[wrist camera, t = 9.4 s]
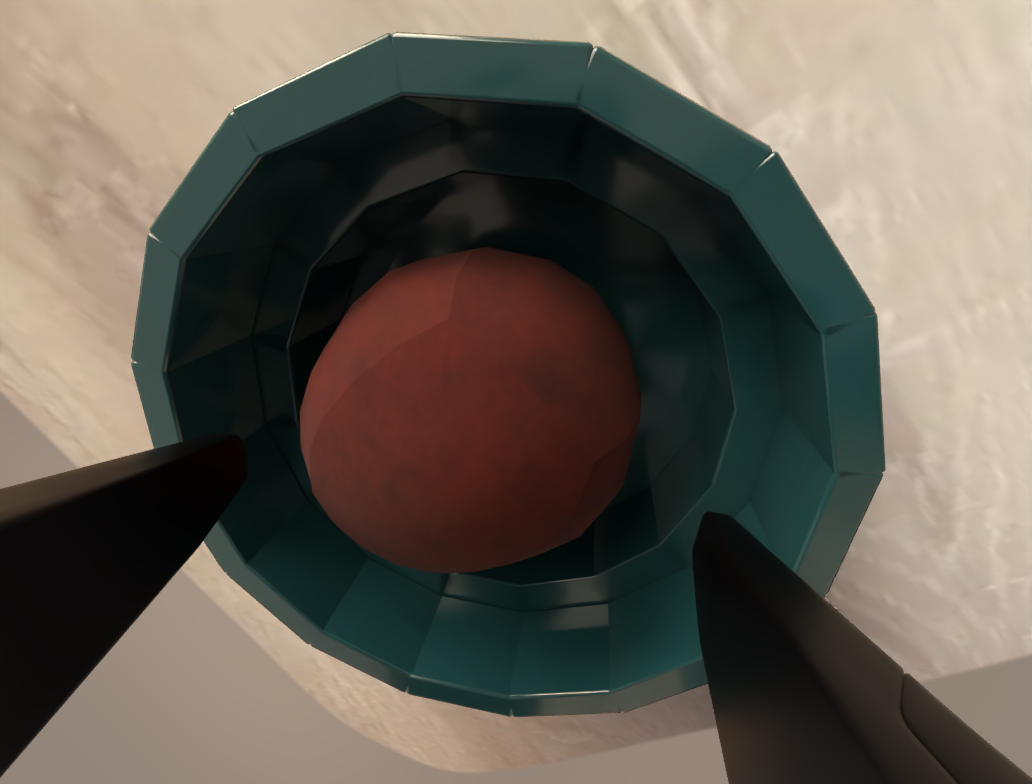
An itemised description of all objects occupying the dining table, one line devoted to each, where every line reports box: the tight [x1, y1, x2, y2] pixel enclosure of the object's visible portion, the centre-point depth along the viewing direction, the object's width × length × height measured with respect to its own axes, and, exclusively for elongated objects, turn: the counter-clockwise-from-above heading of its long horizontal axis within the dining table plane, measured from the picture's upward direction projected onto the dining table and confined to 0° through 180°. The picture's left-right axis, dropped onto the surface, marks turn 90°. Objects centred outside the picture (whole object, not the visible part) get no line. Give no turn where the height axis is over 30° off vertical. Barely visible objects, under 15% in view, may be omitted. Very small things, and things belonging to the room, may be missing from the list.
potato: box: [300, 247, 641, 573], centre depth 11 cm, size 7×8×7 cm
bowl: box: [131, 32, 885, 717], centre depth 12 cm, size 15×15×6 cm
